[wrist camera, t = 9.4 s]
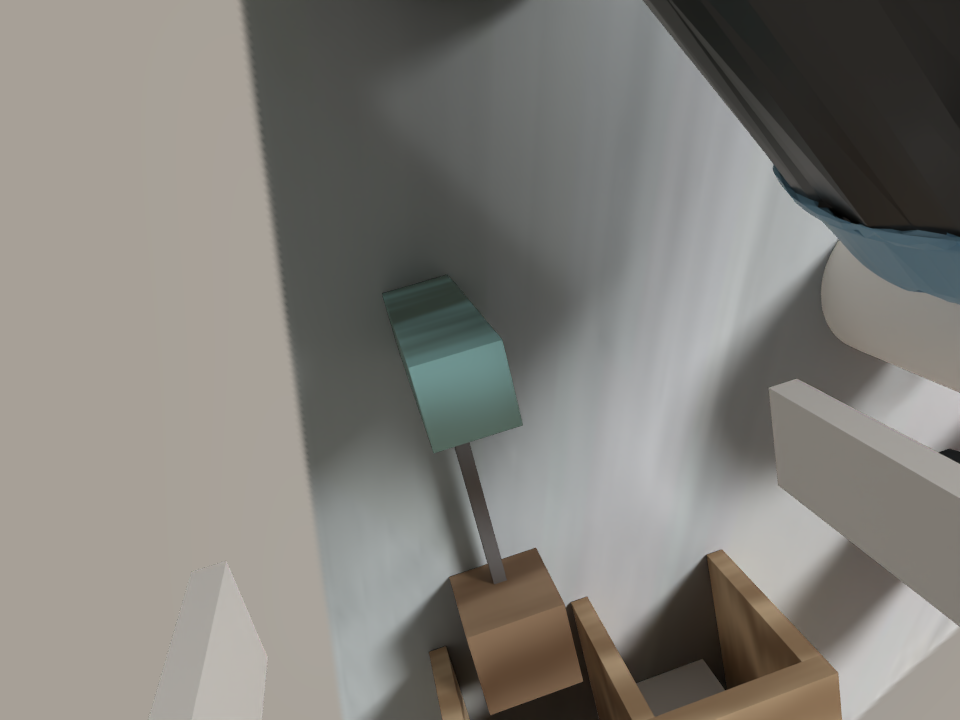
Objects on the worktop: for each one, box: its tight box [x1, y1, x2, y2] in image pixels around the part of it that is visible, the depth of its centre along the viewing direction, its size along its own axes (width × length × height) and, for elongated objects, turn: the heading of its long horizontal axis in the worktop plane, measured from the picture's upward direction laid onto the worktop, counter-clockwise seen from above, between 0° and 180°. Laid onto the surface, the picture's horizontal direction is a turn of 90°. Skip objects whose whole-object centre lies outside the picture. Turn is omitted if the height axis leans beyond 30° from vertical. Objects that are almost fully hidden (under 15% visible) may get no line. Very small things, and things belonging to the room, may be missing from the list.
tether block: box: [382, 275, 583, 715], centre depth 32 cm, size 21×5×11 cm, turn 14°
